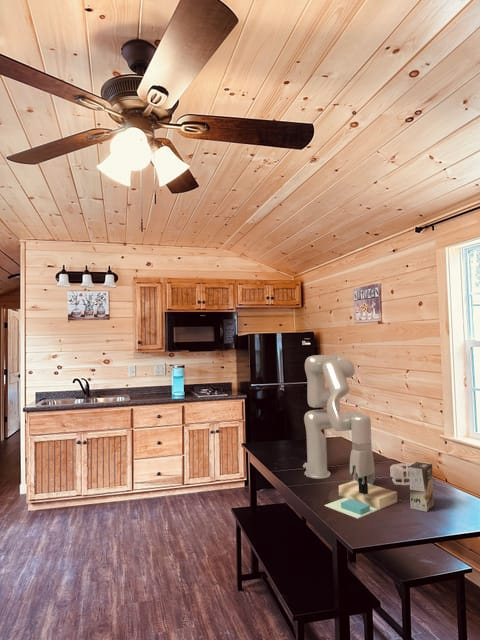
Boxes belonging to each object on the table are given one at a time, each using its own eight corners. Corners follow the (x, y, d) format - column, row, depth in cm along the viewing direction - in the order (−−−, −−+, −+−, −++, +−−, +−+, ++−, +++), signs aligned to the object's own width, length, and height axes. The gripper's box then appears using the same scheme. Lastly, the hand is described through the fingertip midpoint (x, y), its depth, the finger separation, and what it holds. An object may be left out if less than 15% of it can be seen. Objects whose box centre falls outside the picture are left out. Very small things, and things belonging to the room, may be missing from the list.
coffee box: (427, 512, 160) (425, 469, 161) (410, 508, 164) (408, 466, 165) (434, 505, 167) (432, 463, 168) (417, 501, 171) (415, 461, 172)
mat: (324, 506, 169) (324, 505, 169) (344, 498, 176) (344, 497, 176) (357, 518, 156) (357, 517, 156) (378, 510, 163) (378, 509, 163)
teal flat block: (350, 498, 169) (350, 504, 169) (340, 502, 165) (341, 507, 165) (369, 505, 162) (369, 510, 162) (360, 509, 158) (360, 514, 158)
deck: (338, 495, 180) (338, 485, 180) (356, 489, 187) (356, 479, 187) (379, 509, 164) (379, 499, 164) (397, 502, 171) (396, 491, 171)
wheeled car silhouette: (423, 475, 204) (423, 460, 205) (437, 483, 193) (436, 466, 194) (384, 478, 201) (384, 462, 202) (396, 486, 190) (396, 469, 191)
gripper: (365, 441, 176) (367, 486, 175) (342, 447, 168) (343, 495, 167) (381, 445, 170) (382, 491, 169) (357, 451, 162) (359, 500, 161)
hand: (363, 493), depth 168 cm, fingers closed
